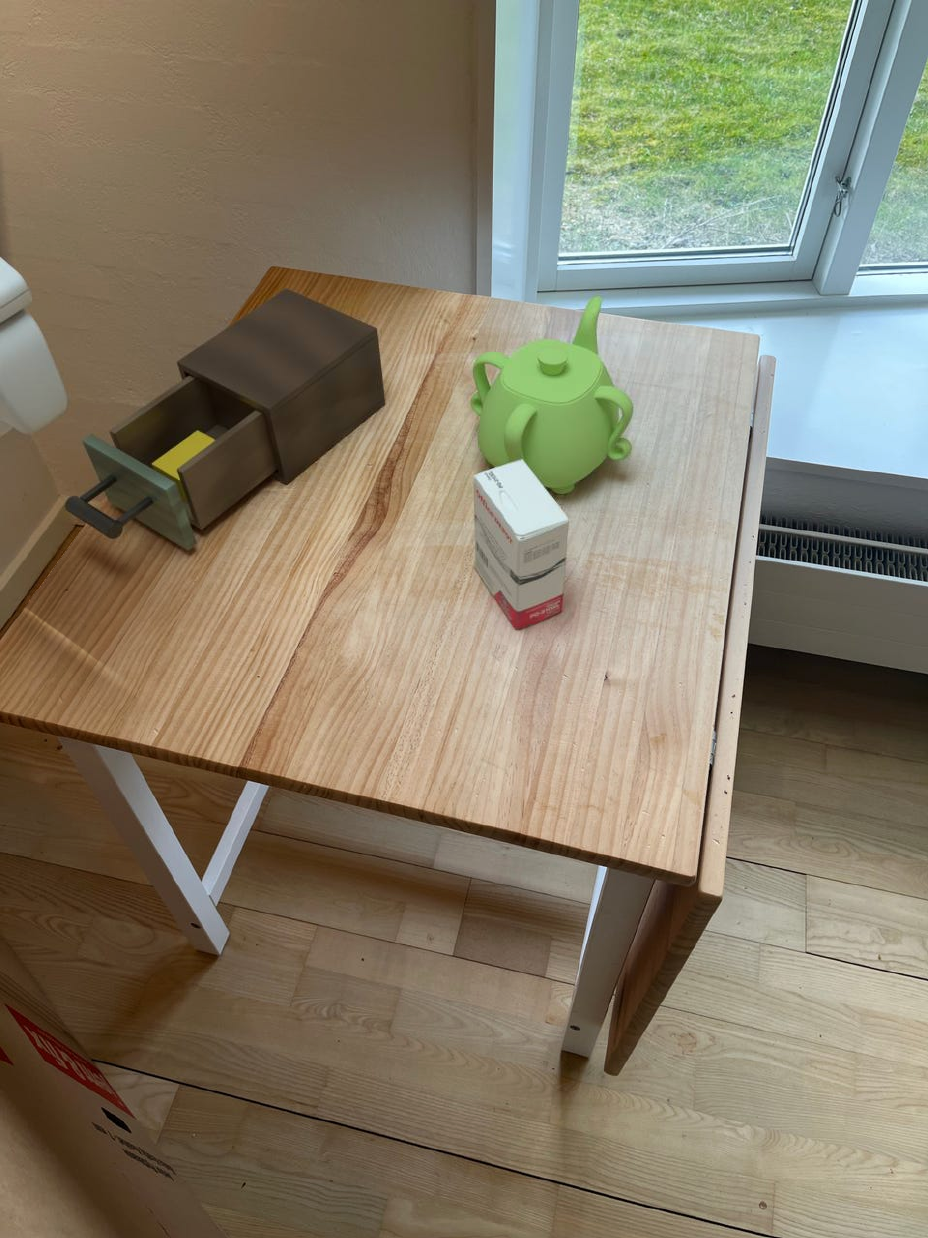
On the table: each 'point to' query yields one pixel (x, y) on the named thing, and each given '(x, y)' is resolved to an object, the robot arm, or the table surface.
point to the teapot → (552, 407)
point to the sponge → (181, 458)
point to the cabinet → (296, 374)
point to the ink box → (520, 543)
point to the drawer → (205, 477)
